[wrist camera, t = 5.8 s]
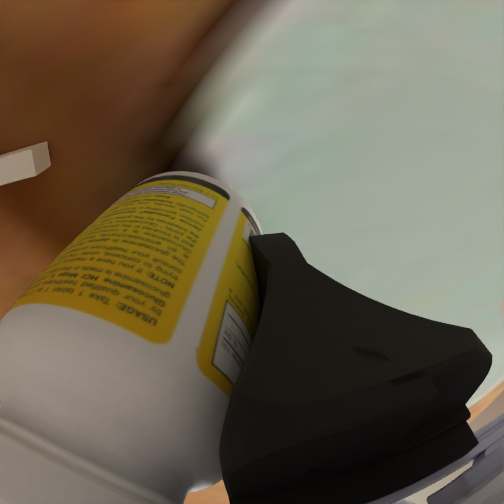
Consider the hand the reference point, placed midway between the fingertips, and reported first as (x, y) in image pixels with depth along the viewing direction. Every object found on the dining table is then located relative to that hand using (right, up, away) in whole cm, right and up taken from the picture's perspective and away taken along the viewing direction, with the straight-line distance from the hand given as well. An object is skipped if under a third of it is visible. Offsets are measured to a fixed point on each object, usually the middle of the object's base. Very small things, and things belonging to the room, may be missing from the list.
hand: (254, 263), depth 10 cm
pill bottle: (-2, +1, +3) cm, 4 cm away
